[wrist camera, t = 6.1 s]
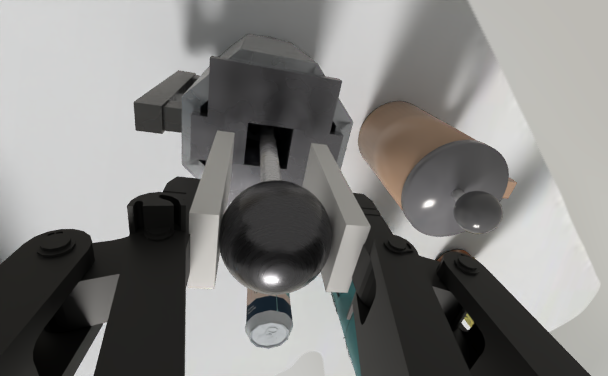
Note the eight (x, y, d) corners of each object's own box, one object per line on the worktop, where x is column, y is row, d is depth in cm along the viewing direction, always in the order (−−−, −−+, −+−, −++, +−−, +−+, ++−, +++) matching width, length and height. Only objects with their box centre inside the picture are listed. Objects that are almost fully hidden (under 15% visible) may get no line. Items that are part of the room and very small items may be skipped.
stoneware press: (349, 165, 36) (413, 269, 21) (369, 94, 32) (464, 160, 17) (431, 175, 38) (540, 274, 23) (459, 110, 34) (610, 180, 19)
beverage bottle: (334, 248, 41) (390, 413, 24) (377, 255, 43) (458, 414, 26) (319, 282, 44) (359, 452, 27) (360, 287, 46) (422, 450, 29)
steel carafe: (184, 122, 31) (127, 207, 17) (184, 19, 26) (109, 24, 13) (300, 138, 33) (330, 222, 20) (317, 46, 29) (371, 73, 15)
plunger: (221, 133, 26) (158, 351, 9) (227, 52, 23) (146, 155, 6) (295, 142, 27) (358, 349, 10) (308, 67, 24) (428, 185, 7)
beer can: (242, 262, 40) (237, 347, 30) (255, 235, 39) (255, 315, 28) (276, 270, 42) (282, 354, 32) (290, 244, 40) (301, 324, 30)
